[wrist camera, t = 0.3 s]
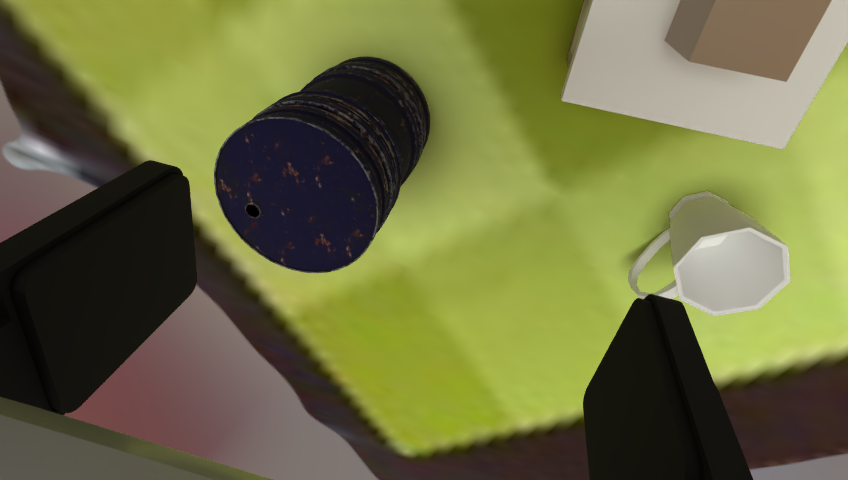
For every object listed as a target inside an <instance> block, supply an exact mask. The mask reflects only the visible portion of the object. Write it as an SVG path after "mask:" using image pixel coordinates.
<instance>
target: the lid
mask: <svg viewBox="0 0 848 480" xmlns="http://www.w3.org/2000/svg"><path fill="white" fill-rule="evenodd" d="M847 42H848V0H590V3H589V6H588V9H587V12H586V16H585V19H584V22H583V25H582V28H581V32H580V35H579V38H578V41H577V44H576V48H575V51H574V54H573V57H572V60H571V64H570V67H569V70H568V73H567V76H566V80H565V83H564V86H563V89H562V92H561V101H564V102H569V103H573V104H578V105H582V106H587V107H592V108H596V109H601V110H605V111H610V112H615V113H619V114H624V115H628V116H633V117H637V118H642V119H647V120H651V121H656V122H660V123H665V124H670V125H674V126H679V127H683V128H688V129H692V130H697V131H702V132H706V133H711V134H715V135H720V136H724V137H729V138H734V139H738V140H743V141H747V142H752V143H757V144H761V145H766V146H770V147H775V148H779V149H784V148H785V146H786V145H787V143H788V141H789V140H790V138H791V136H792V135H793V133H794V131H795V130H796V128H797V126H798V124H799V123H800V121H801V119H802V118H803V116H804V114H805V113H806V111H807V109H808V108H809V106H810V104H811V103H812V101H813V99H814V98H815V96H816V94H817V93H818V91H819V89H820V88H821V86H822V84H823V83H824V81H825V79H826V77H827V76H828V74H829V72H830V71H831V69H832V67H833V66H834V64H835V62H836V61H837V59H838V57H839V56H840V54H841V52H842V51H843V49H844V47H845V46H846V44H847Z"/></svg>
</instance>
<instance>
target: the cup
mask: <svg viewBox="0 0 848 480" xmlns="http://www.w3.org/2000/svg"><path fill="white" fill-rule="evenodd" d="M669 217H670V228H669V229H667V230H665V231H663V232H662V233H661V234H660V235H659V236H658V237H657V238H656V239H655V240H653V241H652V242H651V243H650V245H649V246H648V247H647V248H646V249H645V250H644V251H643V252H642V254H641V255H640V256H639V257H638V258H637V259H636V261H635V262H634V264H633V266H632V267H631V269H630V270H629V276H628V282H629V284H630V286H631V288H632V289H633V290H634V291H635V293H636V294H637V295H638V296H639V297H640V298H641V299H644V298H645V297H646V296H647V295H649V293H645V292H640V291H639V289H638V287H637V280H638V275H639V274H640V272H641V271H642V269H643V268H644V266H645V265H646V264H647V263H648V262H649V260H650V259H651V258H652V257H653V256H654V255H655V253H656V252H657V251H658V250H659V249H660V248H661V247H662V246H663V245H664V244H665V243H667V242H668V241H669V240H670V243H671V251H672V261H673V268H674V274H675V279H676V280H674V281H673V282H672V283H670V284H669V285H668V286H666V287H664V288H663V289H661V290H660V291H658V292H656V293H651V294H654V295H658V296H661V297H665V298H669V299H672V298H675V297H677V296H678V295H679V299H680V300H682V301H684V302H686V303H688V304H690V305H692V306H694V307H696V308H698V309H700V310H702V311H704V312H706V313H709V314H711V315H713V316H718V315H724V314H731V313H737V312H744V311H751V310H757V309H760V308H761V307H762V306H763V305H764V304H765V303H766V302H768V301H769V300H770V299H771V298H772V297H773V296H774V295H775V294H777V293H778V292H779V291H780V290H781V289H782V288H783V287H784V286H786V285H787V284H788V283H789V282H790V266H789V252H788V246H787V245H786V244H785V243H783V242H782V241H781V240H780V239H778V238H777V237H776V236H774V235H773V234H772V233H770V232H769V231H768V230H766V229H765V228H764V227H763V226H761V225H760V224H759V223H758V222H756V221H755V220H754V219H753V218H752V217H750V216H749V215H747V214H745V213H743V212H741V211H739V210H738V209H736V208H734V207H732V206H730V205H728V202H727V200H725V199H723V198H721V197H719V196H717V195H715V194H713V193H711V192H709V191H704V192H700V193H695V194H691V195H687V196H683V197H682V198H681V199H680V201H679V202H678V203H677V204H676V205H675V206H674V208H673V209H672V210H671V211H670V212H669Z"/></svg>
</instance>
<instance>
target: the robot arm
mask: <svg viewBox="0 0 848 480" xmlns="http://www.w3.org/2000/svg"><path fill="white" fill-rule="evenodd" d="M196 282H197V271H196V259H195V247H194V235H193V223H192V211H191V198H190V186H189V181H188V179H187V178H186V177H185V176H183V173H182V171H181V170H180V169H179V168H178V167H175V166H171V165H167V164H163V163H160V162H156V161H150V160H149V161H146V162H144V163H142V164H140V165H139V166H137V167H135V168H133V169H131V170H130V171H128V172H126V173H124V174H123V175H121V176H119V177H117V178H115V179H114V180H112V181H110V182H108V183H107V184H105V185H103V186H101V187H99V188H98V189H96V190H94V191H92V192H90V193H89V194H87V195H85V196H83V197H82V198H80V199H78V200H76V201H74V202H73V203H71V204H69V205H67V206H66V207H64V208H62V209H60V210H58V211H57V212H55V213H53V214H51V215H50V216H48V217H46V218H44V219H42V220H41V221H39V222H37V223H35V224H33V225H32V226H30V227H28V228H27V229H24V230H23V231H21V232H19V233H17V234H16V235H14V236H12V237H10V238H8V239H7V240H5V241H3V242H1V243H0V480H271V479H268V478H265V477H262V476H259V475H256V474H252V473H249V472H246V471H243V470H239V469H236V468H233V467H230V466H227V465H223V464H220V463H217V462H213V461H210V460H207V459H204V458H201V457H198V456H194V455H191V454H188V453H185V452H181V451H178V450H175V449H171V448H168V447H165V446H162V445H159V444H155V443H152V442H148V441H145V440H142V439H139V438H135V437H132V436H129V435H126V434H122V433H119V432H116V431H113V430H109V429H105V428H103V427H99V426H96V425H93V424H89V423H86V422H83V421H80V420H76V419H73V418H70V417H67V416H63V415H64V414H65V413H70V412H73V411H75V410H76V409H77V408H79V407H80V406H81V405H82V404H83V403H84V402H85V401H86V400H87V399H88V398H89V397H90V396H91V395H92V394H93V393H94V392H95V391H96V390H97V389H98V388H99V387H100V386H101V385H102V384H103V383H104V382H105V381H106V380H107V379H108V378H109V377H110V376H111V375H112V374H113V373H114V372H115V371H116V370H117V369H118V368H119V366H120V365H122V364H123V362H125V360H126V359H127V358H128V357H129V356H130V355H131V354H132V353H133V352H134V351H135V350H136V349H137V348H138V347H139V346H140V345H141V344H142V343H143V342H144V341H145V340H146V339H147V338H148V337H149V336H150V335H151V334H152V333H153V332H154V331H155V330H156V329H157V328H158V327H159V326H160V325H161V324H162V323H163V322H164V321H165V320H166V319H167V318H168V317H169V316H170V315H171V314H172V313H173V312H174V311H175V310H176V309H177V308H178V307H179V306H180V305H181V304H182V303H183V302H184V301H185V300H186V299H187V298H188V297H189V296H190V295H191V293H192V292H193V290H194V289H195V286H196ZM583 411H584V422H585V433H586V444H587V455H588V466H589V477H590V480H753V478H752V475H751V473H750V470H749V468H748V465H747V463H746V460H745V458H744V455H743V452H742V450H741V447H740V445H739V442H738V440H737V437H736V435H735V432H734V430H733V427H732V424H731V422H730V419H729V417H728V414H727V412H726V409H725V407H724V404H723V402H722V399H721V396H720V394H719V391H718V389H717V387H716V386H715V384H714V382H713V380H712V377H711V374H710V372H709V369H708V367H707V364H706V362H705V359H704V356H703V354H702V351H701V349H700V346H699V344H698V341H697V338H696V336H695V333H694V331H693V328H692V326H691V323H690V321H689V318H688V315H687V313H686V310H685V308H684V305H683V304H682V302H679V301H676V300H673V299H669V298H665V297H661V296H658V295H654V294H649V295H647V296H646V297H645V298H644V299H640V298H637V299H636V300H635V301H634V302H633V304H632V305H631V307H630V309H629V311H628V313H627V315H626V316H625V318H624V320H623V322H622V324H621V326H620V328H619V329H618V331H617V333H616V335H615V337H614V339H613V341H612V342H611V344H610V346H609V348H608V350H607V352H606V354H605V355H604V357H603V359H602V361H601V363H600V365H599V366H598V368H597V370H596V372H595V374H594V376H593V378H592V379H591V381H590V383H589V385H588V387H587V389H586V392H585V395H584V400H583Z"/></svg>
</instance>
